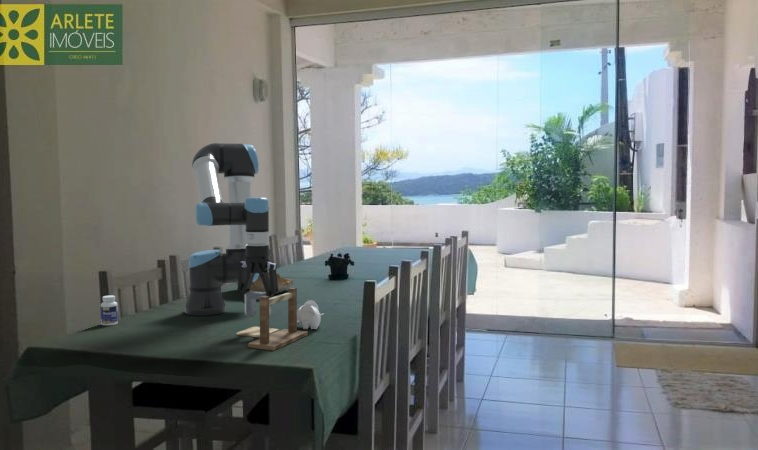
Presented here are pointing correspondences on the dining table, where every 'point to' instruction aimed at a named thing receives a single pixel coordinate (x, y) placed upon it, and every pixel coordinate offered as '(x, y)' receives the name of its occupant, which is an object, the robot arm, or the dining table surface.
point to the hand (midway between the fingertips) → (257, 314)
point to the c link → (252, 302)
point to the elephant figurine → (309, 315)
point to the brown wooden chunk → (258, 284)
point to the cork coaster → (255, 331)
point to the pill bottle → (109, 311)
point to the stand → (283, 335)
